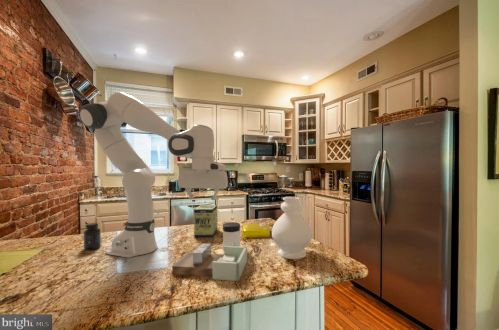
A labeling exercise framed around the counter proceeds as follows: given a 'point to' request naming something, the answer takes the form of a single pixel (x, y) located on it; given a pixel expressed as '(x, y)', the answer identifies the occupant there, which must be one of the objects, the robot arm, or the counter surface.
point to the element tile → (256, 230)
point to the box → (230, 264)
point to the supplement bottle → (92, 237)
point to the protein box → (205, 221)
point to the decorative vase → (291, 230)
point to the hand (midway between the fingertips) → (202, 199)
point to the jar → (231, 234)
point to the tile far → (229, 258)
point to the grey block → (201, 254)
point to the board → (195, 266)
